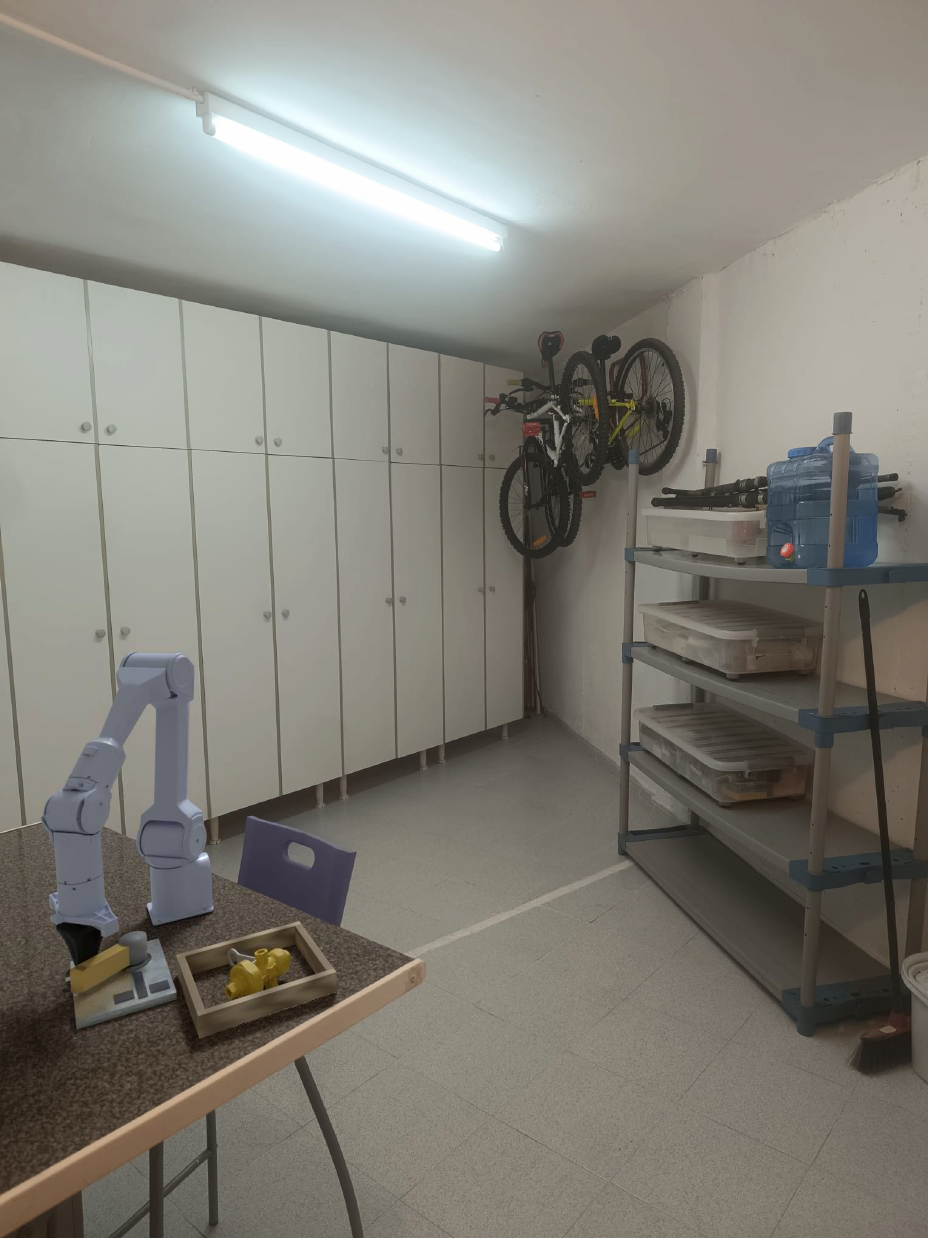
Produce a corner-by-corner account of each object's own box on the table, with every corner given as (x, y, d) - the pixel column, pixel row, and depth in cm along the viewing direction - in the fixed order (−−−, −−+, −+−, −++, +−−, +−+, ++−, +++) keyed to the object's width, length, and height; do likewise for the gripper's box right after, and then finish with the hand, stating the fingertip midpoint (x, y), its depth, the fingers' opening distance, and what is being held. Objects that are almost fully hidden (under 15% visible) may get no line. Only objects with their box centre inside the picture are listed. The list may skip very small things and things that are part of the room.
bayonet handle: (136, 949, 108) (135, 929, 108) (153, 955, 107) (151, 934, 106) (64, 990, 99) (62, 967, 98) (81, 997, 97) (79, 975, 97)
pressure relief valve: (302, 978, 103) (244, 1017, 94) (246, 966, 110) (188, 1001, 101) (295, 940, 103) (237, 975, 94) (241, 929, 109) (182, 962, 101)
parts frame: (299, 939, 114) (299, 921, 113) (336, 993, 100) (336, 972, 100) (177, 975, 104) (176, 955, 104) (199, 1039, 91) (198, 1016, 90)
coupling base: (159, 944, 113) (158, 937, 112) (176, 999, 99) (176, 991, 99) (64, 969, 106) (63, 962, 106) (69, 1032, 92) (68, 1023, 92)
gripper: (23, 873, 101) (30, 966, 103) (79, 901, 93) (85, 1001, 95) (74, 855, 107) (80, 943, 109) (131, 880, 99) (136, 975, 100)
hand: (86, 969), depth 102 cm, fingers closed
